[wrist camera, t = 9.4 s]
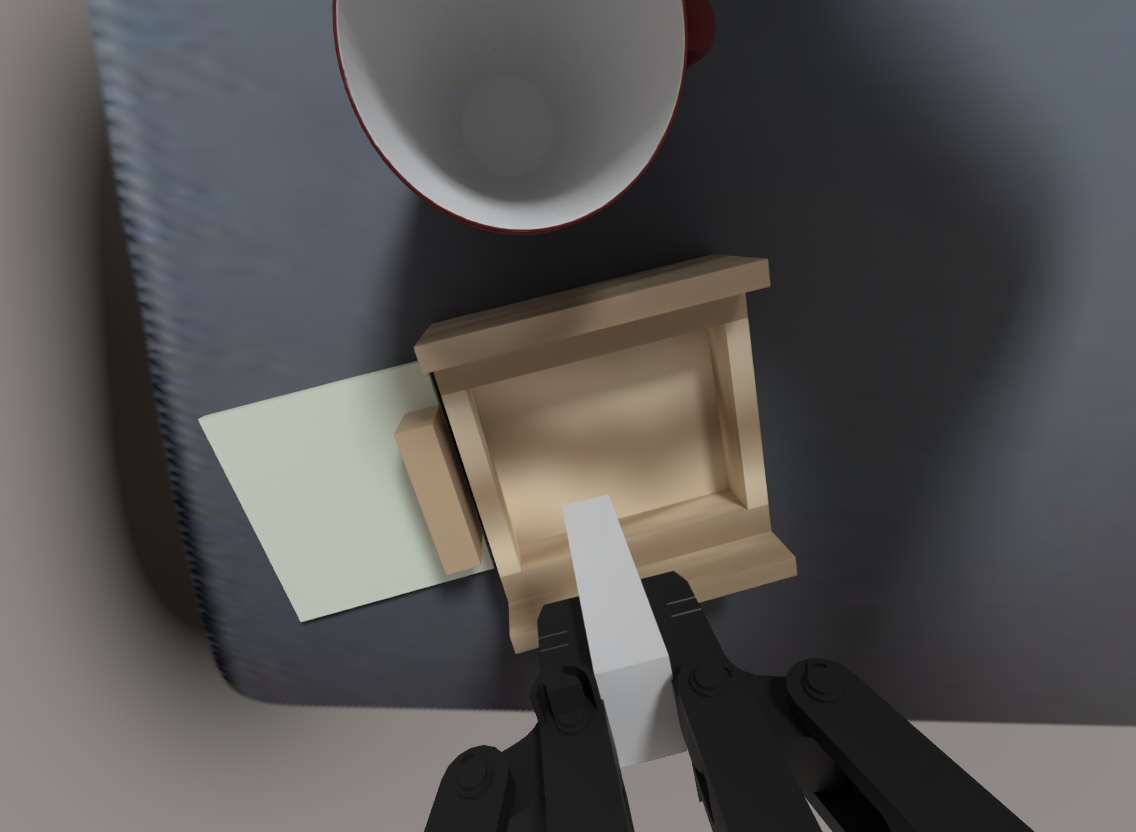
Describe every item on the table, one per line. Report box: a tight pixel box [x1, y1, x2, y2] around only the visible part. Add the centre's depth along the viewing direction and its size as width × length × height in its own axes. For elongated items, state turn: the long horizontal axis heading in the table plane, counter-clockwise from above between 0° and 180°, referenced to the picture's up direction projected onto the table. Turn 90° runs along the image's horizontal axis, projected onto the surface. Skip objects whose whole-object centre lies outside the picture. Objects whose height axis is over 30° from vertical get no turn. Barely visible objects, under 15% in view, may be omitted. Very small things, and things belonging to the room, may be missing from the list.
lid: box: [198, 361, 494, 622], centre depth 24 cm, size 11×10×4 cm
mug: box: [332, 0, 716, 235], centre depth 17 cm, size 10×8×10 cm
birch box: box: [414, 254, 797, 654], centre depth 24 cm, size 14×13×5 cm
